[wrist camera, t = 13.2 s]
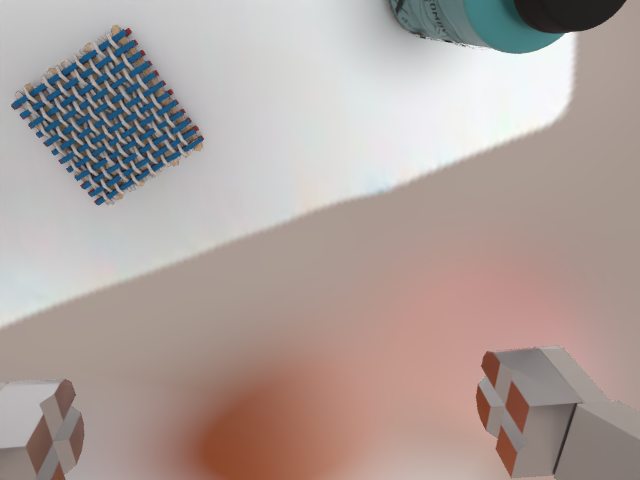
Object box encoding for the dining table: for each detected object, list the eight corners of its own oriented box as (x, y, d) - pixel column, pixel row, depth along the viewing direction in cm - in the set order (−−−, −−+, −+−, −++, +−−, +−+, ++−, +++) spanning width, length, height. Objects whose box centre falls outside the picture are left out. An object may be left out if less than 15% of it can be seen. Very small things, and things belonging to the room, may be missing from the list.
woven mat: (9, 96, 36) (-4, 101, 34) (125, 18, 34) (118, 19, 32) (105, 207, 40) (97, 216, 38) (211, 142, 39) (208, 149, 37)
